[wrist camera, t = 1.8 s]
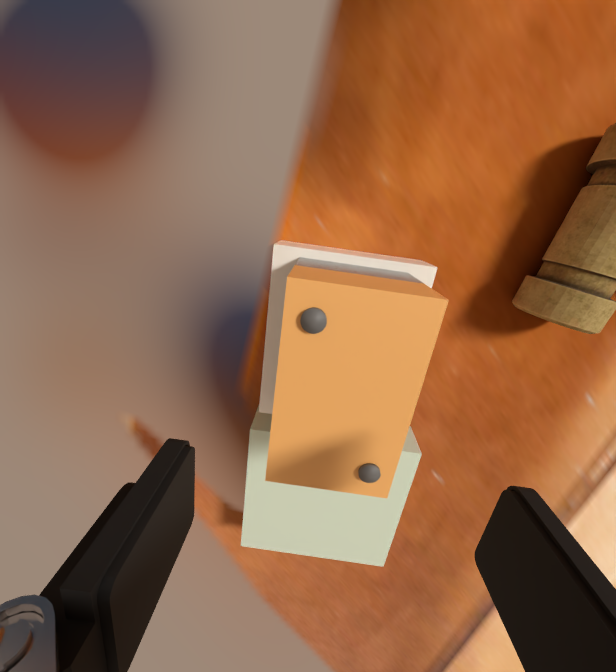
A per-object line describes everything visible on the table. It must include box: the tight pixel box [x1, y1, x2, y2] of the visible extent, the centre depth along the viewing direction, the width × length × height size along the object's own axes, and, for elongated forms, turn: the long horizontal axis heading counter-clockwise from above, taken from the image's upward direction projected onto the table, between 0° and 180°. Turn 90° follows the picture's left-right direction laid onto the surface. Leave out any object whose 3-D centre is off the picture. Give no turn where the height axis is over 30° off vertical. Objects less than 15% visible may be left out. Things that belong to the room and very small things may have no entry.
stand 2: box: [241, 405, 422, 567], centre depth 25 cm, size 12×12×3 cm
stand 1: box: [259, 240, 438, 414], centre depth 20 cm, size 11×9×3 cm
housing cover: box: [265, 265, 448, 498], centre depth 14 cm, size 10×6×3 cm, turn 172°
